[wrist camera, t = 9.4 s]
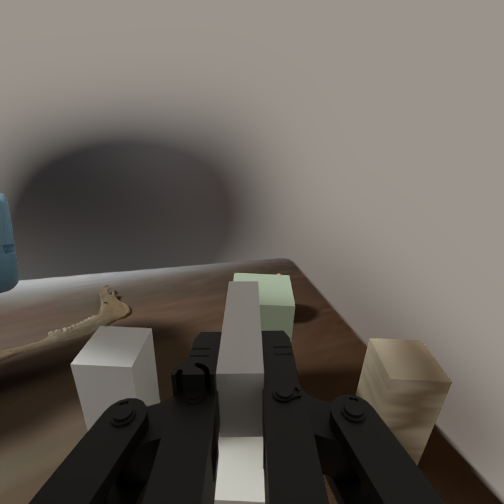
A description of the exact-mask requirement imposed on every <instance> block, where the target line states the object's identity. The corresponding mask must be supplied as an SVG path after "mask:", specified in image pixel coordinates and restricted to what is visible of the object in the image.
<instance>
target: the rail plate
mask: <svg viewBox="0 0 504 504" xmlns="http://www.w3.org/2000/svg"><path fill="white" fill-rule="evenodd" d="M218 447H219V458H218V469H217V480H216V490H215V501H214V504H265V488H264V469H263V437H220V433H219V440H218Z"/></svg>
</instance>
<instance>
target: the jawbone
mask: <svg viewBox="0 0 504 504" xmlns="http://www.w3.org/2000/svg"><path fill="white" fill-rule="evenodd" d="M109 289H110V287H109V285H106V286H104V287H102V288H101V290H100V300H101V308H100V311H99V313H98V316H97V315H95V316H93V315H92V317H91V318H90V317H88V318H87V320H86V319H84V321H80V323H76V324H74V325H71V327H67V328H66V327H64V328H63V329H56V330H55V331H50V332H49V333H48V337H46V338H45V339H43V340H41V341H38V342H35V343H31V344H28V345H24V346H21V347H16V348H12V349H7V350H3V351H0V361H1V360H4V359H6V358H9V357H11V356H14V355H16V354H19V353H22V352H24V351H27V350H30V349H34V348H38V347H42V346H47V345H52V344H56V343H61V342H65V341H69V340H73V339H76V338H79V337H82V336H85V335H87V334H90V333H92V332H94V331H96V330H97V329H98V328H99V327H100V326H107V325H109V324H110V323H112V322H114V321H116V320H119V319H122V318H125V317H126V316H128V315H129V314H130V312H131V310H130V308H129V306H128V305H126V304H125V303H123V302H121V301H119V300H118V299H117V297H116V293H115V292H114V291H113V292H112V294H111V295H110V294H109V293H108V290H109Z"/></svg>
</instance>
